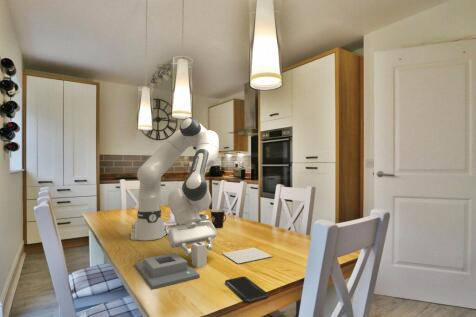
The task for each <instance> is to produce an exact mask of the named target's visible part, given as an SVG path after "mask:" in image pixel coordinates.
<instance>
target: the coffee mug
mask: <svg viewBox="0 0 476 317" xmlns="http://www.w3.org/2000/svg"><path fill="white" fill-rule="evenodd" d="M225 212H226V210H224V209H210V216H211V217H210V218H211V222H212V224H213V225H214V227H215V229H222V228H223V227H224V222H226V220H227V215H226V214H225Z"/></svg>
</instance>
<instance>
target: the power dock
mask: <svg viewBox="0 0 476 317" xmlns="http://www.w3.org/2000/svg"><path fill="white" fill-rule="evenodd" d="M134 267H136V269H137V270H138V272H139V273H140V274H141V275H142V277H143V278H144V280H145V281H146V283H148V285H149V286H150V288H151V289H152V290H154V289H159V288H163V287H167V286H170V285H176V284H178V283H182V282H187V281H191V280H195V279H199V278H200V273H198V272H197V271H196V270H195V269H193V268H192V267H190V265H188V261H187V260H186V259H185V258H183V257H182V256H181V255H179V254H178V253H177V252H172V253H167V254H161V255H154V256H149V257H144V258H143V261H141V260H140V261H138V262H134Z"/></svg>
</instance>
